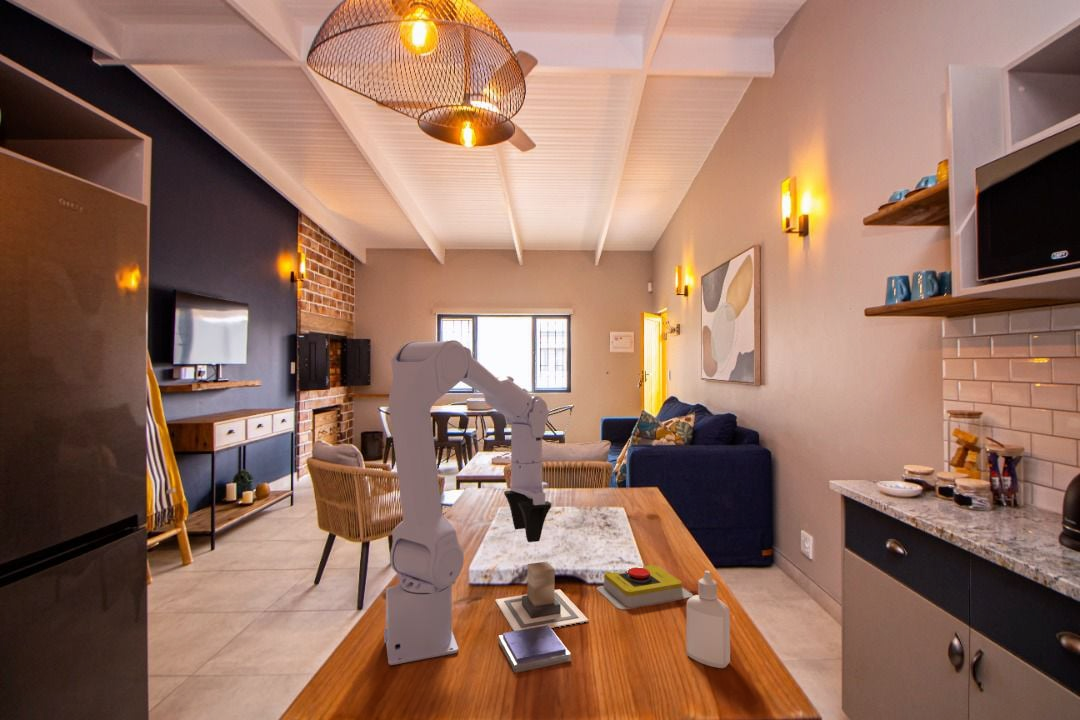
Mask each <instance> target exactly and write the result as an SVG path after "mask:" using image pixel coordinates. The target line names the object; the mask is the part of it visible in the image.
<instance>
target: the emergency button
mask: <svg viewBox="0 0 1080 720" xmlns="http://www.w3.org/2000/svg"><path fill="white" fill-rule="evenodd" d="M638 567H639V566H637V567H630V568H631V569H630V568H628V569H629V570H628V573H615V572H614V573H611V572H610V571H606V572H605V573H604V576H603V577H604V579H603V585H600V586H597V588H596V590H597V592H599V594H601V595H602V596H603V597H604V598H606V600H608V602H609V603H611V605H613V606H614V608H617V609H618V610H624V611H625V610H631V609H636V608H640V607H641V608H642V607H648V606H652V605H659V604H664V603H669V602H676V601H680V600H681V601H682V600H685V599H689V598H690V597H692V596H694V595H693V593H692V592H690V591H689V590H687V589H685V588H684V587H683V583H682V581H681V580H680V579H678V578H677V577H675V576H674V575H672V574H671V573H669V572H668V571H666V569H665V570H664V569H663V568H662V567H660V566H658V565H655V564H650V565H644V566H642V567H643V568H638Z"/></svg>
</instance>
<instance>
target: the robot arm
mask: <svg viewBox="0 0 1080 720" xmlns="http://www.w3.org/2000/svg"><path fill="white" fill-rule="evenodd" d="M390 363H391V371H392V381H391V386H390V390H389V396H388V409H389V417H390V424H391V425H390V426H391V433H392V441H393V449H394V457H395V465H396V473H397V481H398V489H399V494H400V495H399V497H400V504H401V505H400V506H401V513H402V521H400V522H399V523H398V524H397V525H395V527H394V529H392V531H391V535H392V544H391V549H390V553H389V562H390V566H391V568H392V570H393V571H394V572H395V573H397V581H398V584H396V585H393V586H390V587H389V586H388V587H387V588H386V589H385V628H383V639H384V640H383V643H384V644H385V645H386V655H387V661H388V662H387V663H388V665H389V666H394V665H398V664H399V665H400V664H405V663H410V662H416V661H421V660H426V659H430V658H431V659H432V658H437V657H443V656H447V655H452V654H456V653H458V652H459V646H458V644H457V640H456V637H455V635H454V632H453V630H452V628H453V627H452V622H453V621H452V620H453V619H452V617H453V616H452V613H453V611H452V610H453V609H452V606H453V605H452V604H453V603H452V600H453V599H452V595H453V594H452V592H453V589H452V588H453V587H452V585H455V584H456V580H457V579H458V578H459V576H460V575H461V573H462V569H463V566H464V561H465V560H464V559H465V558H464V557H465V556H464V551H463V548H462V546H461V544H460V543H459V541H458V539H457V538H458V537H457V531H456V529H455V527H454V526H453V525H452V523H450V522H449V520H448V519H447V518H446V517H445V515H444V514H443V507H442V501H441V500H442V499H441V491H440V483H439V474H438V473H439V472H438V467H437V466H438V465H437V458H436V447H435V440H434V431H433V424H432V423H433V422H432V416H431V414H432V413H431V410H432V407H433V406H434V404H435V403H436V402H437V401H438V400H440V399H441V398H443V396H445V395H446V394H447V393H448V392H450V391H451V390H452V389H453V388H454V387H455V386H457V385H458V384H459V383H460V382H462V383H464V384H465V385H467V386H468V387H470V388H472V389H474V390H475V391H477V392H479V393H481V394H483V395H484V400H485V403H486V405H488V406H489V407H490V408H492V409H494V410H495V411H497V412H498V413H500V414H501V415H503V416H504V419H505V422H506V424H507V425H510V426H511V428H510V430H511V431H510V432H511V433H510V436H511V438H510V441H511V443H510V444H511V445H510V446H511V448H510V454H511V457H510V459H511V460H510V468H511V469H510V472H511V473H510V475H511V476H510V478H509V481H510V482H509V483H510V484H509V490H504V492H503V494H504V496H505V498H506V501H507V503H508V505H509V509H510V513H511V518H512V523H513V526H514V529H515V530H525V537H526V541H527V542H528V543H535V542H540V540H541V536H542V531H543V527H544V523H545V521H546V519H547V518H546V517H547V515H548V514H549V511H550V510H551V508H552V503H551V502H550V501H549V500H547V501H546V492H544V489H548V488H549V484H548V483H547V482H545V481H543V437H544V435H545V433H546V425H547V422H548V420H549V419H548V418H549V414H550V410H548V405H547V403H546V401H545V400H544V399H543V398H542V397H541V396H537V395H536V396H534V395H533V396H532V395H531V394H529V393H528V390H527V389H526V388H522V387H521V386H519V385H517V384H516V383H515V382H514V378H513V377H512V376H507V375H504V376H499V377H498V376H497V377H496V376H495V375H494V374H493V373H492V372H490V371H489V370H488V369H487V368H486V367H485V366H484V365H482V364H481V363H480V362H479V361H478V360H477V359H476V358H474V356H472V351H471V349H470V348H469V347H466V346H464V345H463V344H462V343H461V342H459V341H458V340H455V339H448V340H446V341H445V340H443V341H420V342H418V341H407V342H405V343H404V344H402V345H401V346H400V348H399V349H398V350H397V351H396V353H394V355H393V357H391V359H390Z"/></svg>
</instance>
